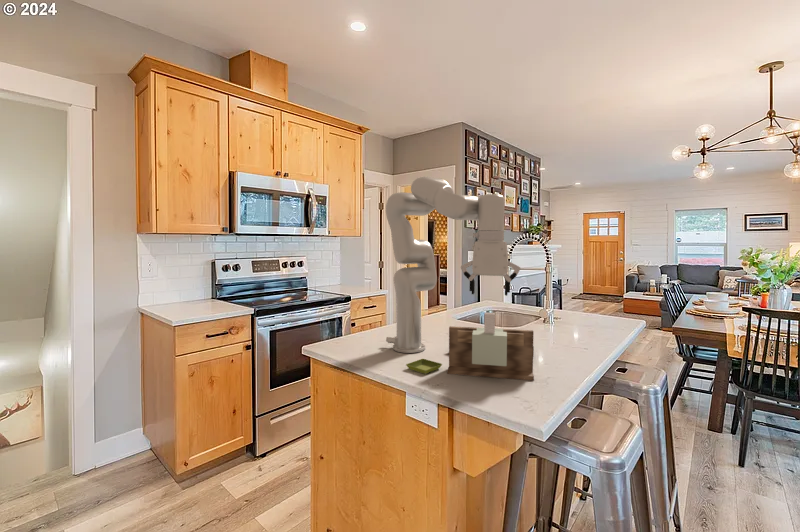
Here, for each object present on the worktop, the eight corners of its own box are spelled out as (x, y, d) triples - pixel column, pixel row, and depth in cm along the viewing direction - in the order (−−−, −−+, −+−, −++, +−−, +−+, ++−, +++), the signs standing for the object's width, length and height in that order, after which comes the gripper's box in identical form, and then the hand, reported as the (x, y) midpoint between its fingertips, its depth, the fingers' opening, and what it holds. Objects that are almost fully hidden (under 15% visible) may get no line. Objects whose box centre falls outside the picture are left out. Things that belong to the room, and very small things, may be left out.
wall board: (447, 373, 126) (447, 330, 125) (449, 368, 131) (449, 326, 130) (533, 380, 120) (534, 334, 119) (532, 374, 125) (533, 330, 124)
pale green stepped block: (472, 363, 119) (472, 314, 118) (473, 354, 127) (474, 308, 126) (506, 366, 117) (507, 316, 115) (505, 356, 125) (506, 309, 123)
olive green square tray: (425, 376, 124) (425, 370, 124) (405, 370, 130) (405, 364, 130) (442, 370, 130) (442, 363, 130) (422, 364, 137) (422, 358, 136)
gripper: (460, 236, 116) (459, 295, 117) (522, 237, 112) (520, 297, 113) (462, 236, 123) (461, 291, 124) (520, 237, 119) (518, 293, 120)
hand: (489, 294), depth 119 cm, fingers open, 9 cm apart
